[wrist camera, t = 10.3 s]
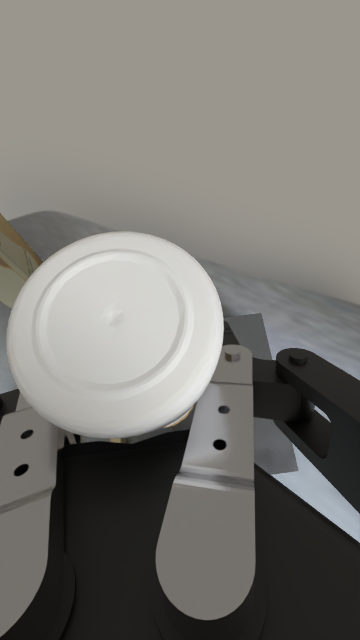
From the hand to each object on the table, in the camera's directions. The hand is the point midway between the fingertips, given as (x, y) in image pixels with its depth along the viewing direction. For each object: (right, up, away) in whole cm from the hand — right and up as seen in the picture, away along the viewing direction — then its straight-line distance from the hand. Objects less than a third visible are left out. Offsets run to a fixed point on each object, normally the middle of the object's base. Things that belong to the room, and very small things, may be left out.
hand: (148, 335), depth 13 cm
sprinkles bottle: (0, -4, +5) cm, 7 cm away
